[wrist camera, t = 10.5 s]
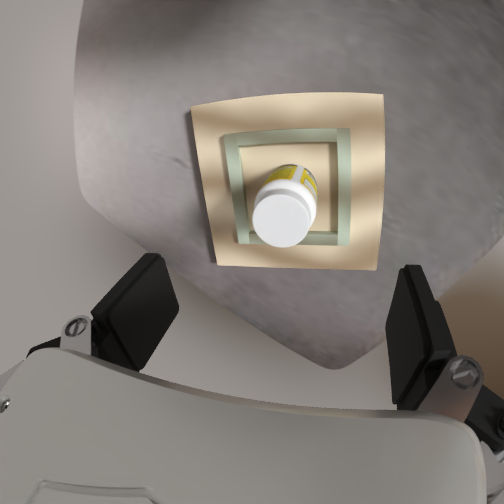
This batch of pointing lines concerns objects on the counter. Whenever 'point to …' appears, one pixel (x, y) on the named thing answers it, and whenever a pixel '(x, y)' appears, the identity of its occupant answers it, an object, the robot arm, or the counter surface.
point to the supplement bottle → (285, 206)
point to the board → (302, 153)
